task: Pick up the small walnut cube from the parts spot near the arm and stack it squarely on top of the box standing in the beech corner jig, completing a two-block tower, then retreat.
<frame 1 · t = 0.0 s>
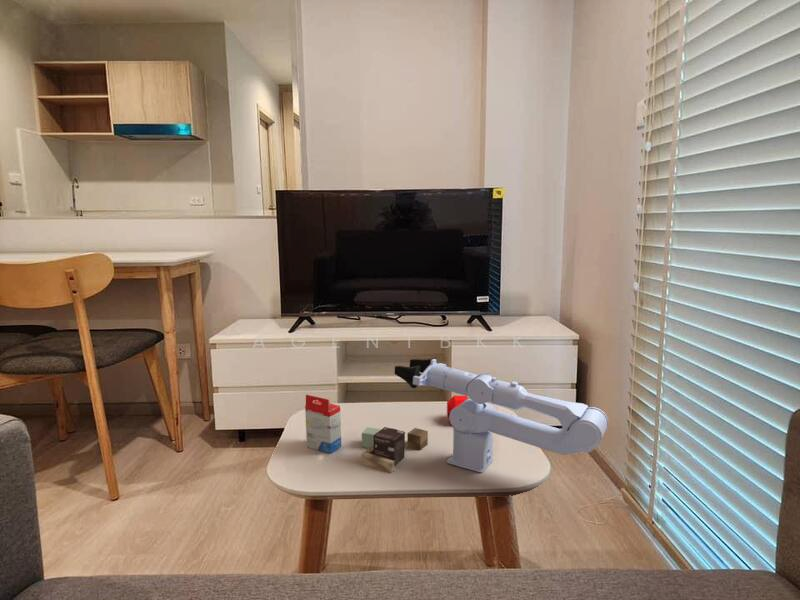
hand: (403, 366, 127), 22 cm above the table, tool horizontal, fingers open, 7 cm apart
red faceted polyhedron: (460, 422, 145), on the table
walnut cube: (417, 446, 128), on the table
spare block: (371, 444, 129), on the table
ink box: (323, 447, 128), on the table
box: (389, 461, 120), on the table
corner jig: (389, 460, 120), on the table
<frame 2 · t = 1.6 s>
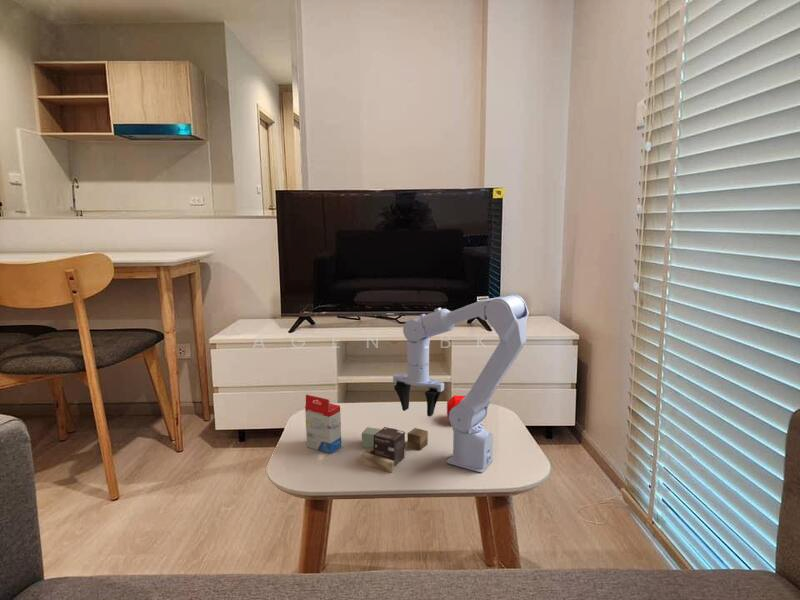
hand: (417, 412, 127), 9 cm above the table, tool pointing down, fingers open, 7 cm apart
nothing on the table moved.
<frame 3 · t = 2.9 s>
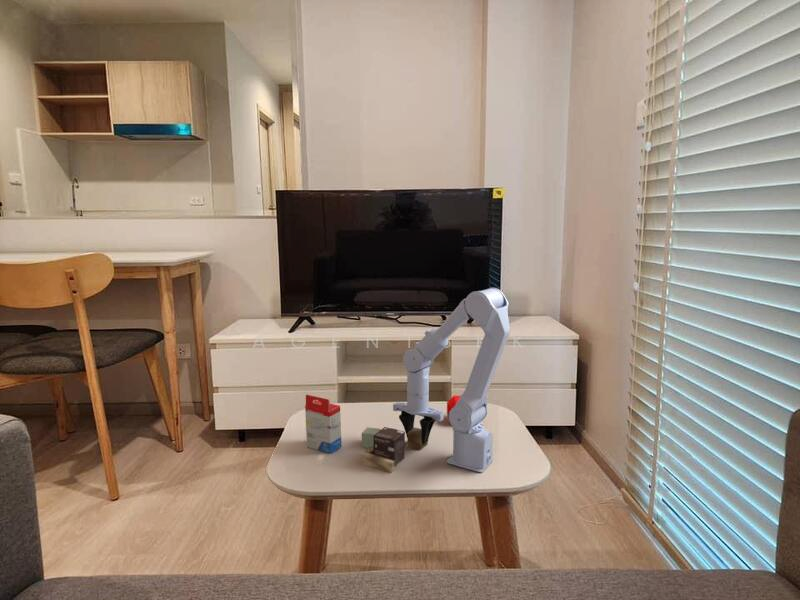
hand: (417, 440, 128), 1 cm above the table, tool pointing down, fingers closed on walnut cube, 4 cm apart
walnut cube: (417, 445, 128), on the table, touching gripper
everything else where it was.
when the fingers open (9 cm above the table, at t = 5.4 s): walnut cube stays where it is, resting on box.
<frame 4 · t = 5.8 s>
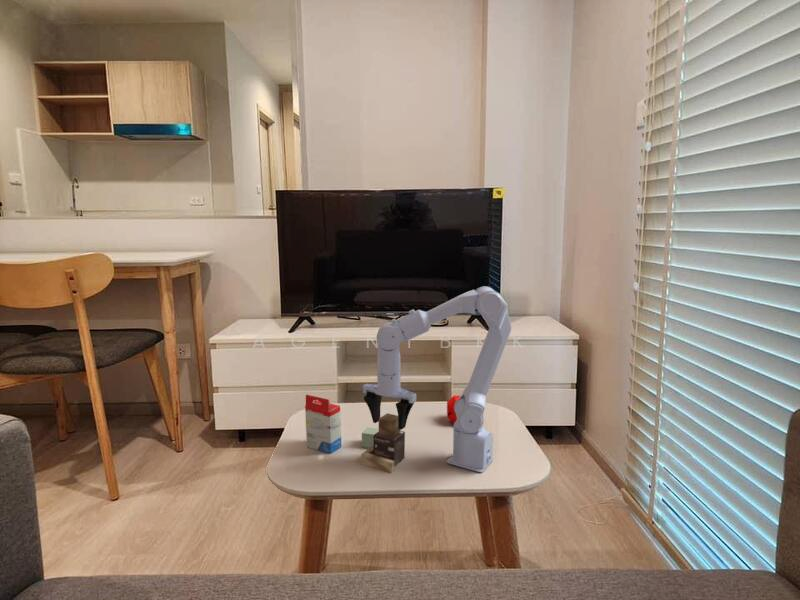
hand: (389, 424, 119), 9 cm above the table, tool pointing down, fingers open, 7 cm apart
walnut cube: (389, 432, 119), point 7 cm above the table, touching box
box: (389, 461, 120), on the table, touching walnut cube
everything else where it was.
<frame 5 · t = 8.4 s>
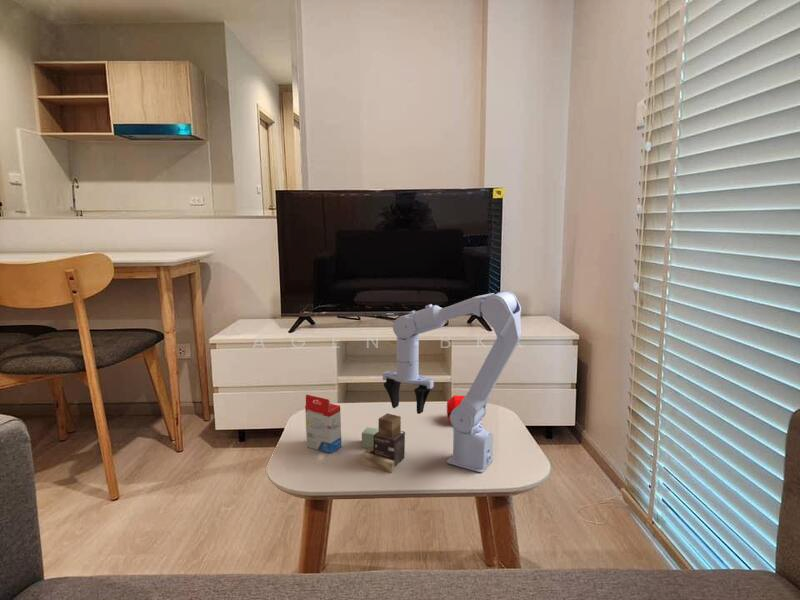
hand: (407, 409, 126), 10 cm above the table, tool pointing down, fingers open, 7 cm apart
nothing on the table moved.
at the end: walnut cube 0.2 cm off-centre on the box, point 7.5 cm above the box's base; walnut cube tilted 0°; box tilted 0° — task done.
